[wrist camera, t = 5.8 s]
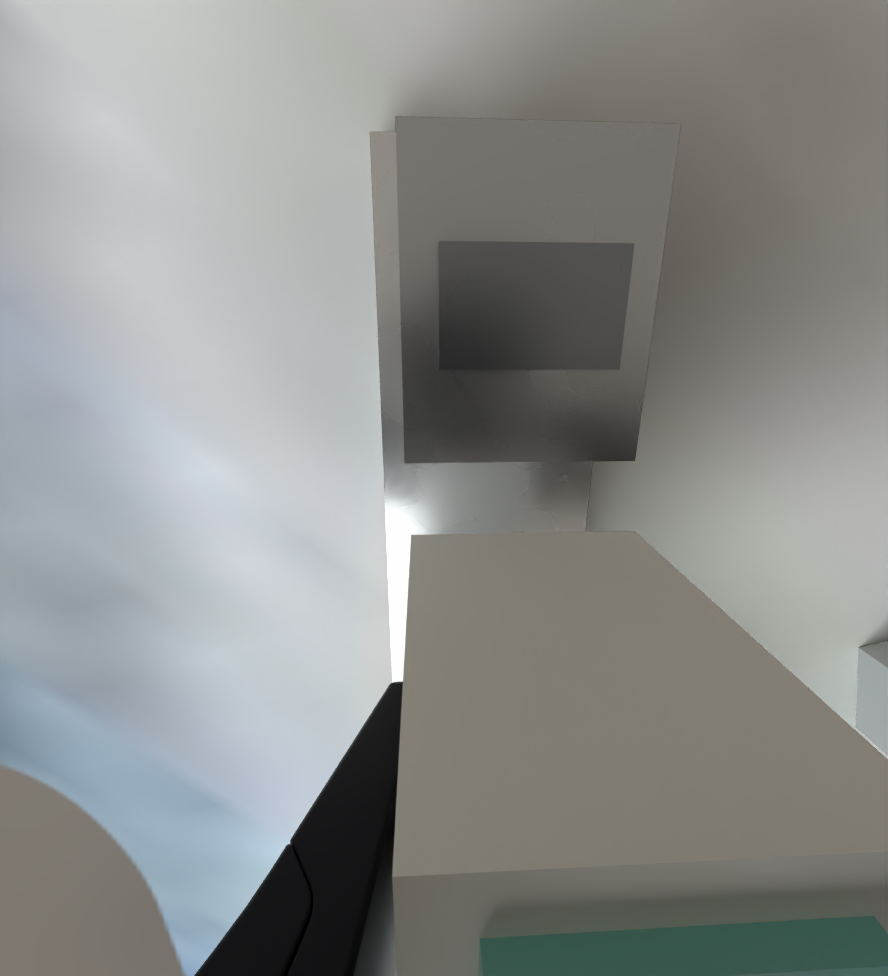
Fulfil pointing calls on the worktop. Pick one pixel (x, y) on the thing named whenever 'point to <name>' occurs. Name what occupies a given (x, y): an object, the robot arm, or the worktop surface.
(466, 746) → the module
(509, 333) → the rail
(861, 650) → the block
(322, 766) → the worktop surface
